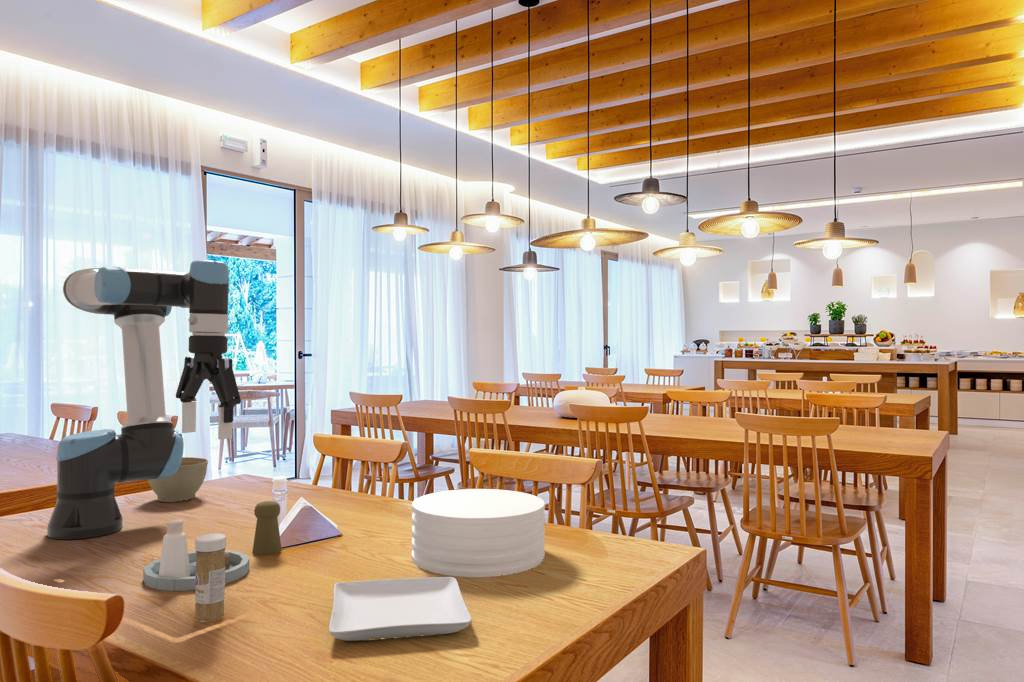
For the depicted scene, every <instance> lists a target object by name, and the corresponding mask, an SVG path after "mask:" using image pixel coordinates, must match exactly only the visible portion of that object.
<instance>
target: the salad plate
mask: <svg viewBox="0 0 1024 682" xmlns="http://www.w3.org/2000/svg"><path fill="white" fill-rule="evenodd" d="M332 601H333V602H332V609H331V615H330V620H329V623H328V632H329V633H330V635H331V636H333V638H335V639H337V640H341V641H346V642H355V641H357V642H358V641H359V640H366V641H370V640H369V639H380V640H382V639H381V638H394V637H406V638H408V637H407V636H418V637H422V636H421V635H429V636H435V635H434V634H440V635H446V634H452V633H453V634H454V633H457V632H460V631H461V630H464V629H466V628H467V627H468V626H469V625H470V624H471V623H472V620H473V619H472V617H471V614H470V612H469V609H468V606H467V605H466V603H465V602H466V601H465V599H464V598H463V595H462V592H461V589H460V587H459V583H458V580H457V579H456V578H455V576H454V577H453V576H438V577H437V576H435V577H433V576H432V577H410V578H409V577H407V578H405V577H404V578H388V579H387V578H385V579H372V580H371V579H369V580H360V581H359V580H357V581H342V582H336V583H334V585H333V599H332ZM394 639H395V638H394ZM359 642H360V641H359Z"/></svg>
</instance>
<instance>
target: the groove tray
mask: <svg viewBox="0 0 1024 682" xmlns="http://www.w3.org/2000/svg"><path fill="white" fill-rule="evenodd" d="M225 552H228V553H230V569H228V570H225V585H226V584H230V583H232V582H235V581H238V580H240V579H241V578H243V577H244V576H246V575H247V574H248V572H249V570H250V557H249V556H248V555H247V553H243V552H240V551H236V550H229V549H225ZM188 557H189V567H190V576H191V577H168V576H161V575H159V569H160V561H161V558H159V559H156V560H153V561H151V562H150V563H148V564H147V565H146V566H144V568H143V582H144V583H143V584H144V585H145V586H146V587H149V588H150V589H153V590H157V591H167V592H168V591H169V592H183V591H195V587H196V550H194V551H188Z"/></svg>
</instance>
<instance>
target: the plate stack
mask: <svg viewBox="0 0 1024 682" xmlns="http://www.w3.org/2000/svg"><path fill="white" fill-rule="evenodd" d="M545 509H546V503H545V500H544V499H542V498H541V497H539V496H537V495H534V494H530V493H526V492H523V491H517V490H508V489H499V488H497V489H495V488H463V489H451V490H450V489H449V490H443V491H442V490H441V491H436V492H431V493H428V494H424V495H421V496H419V497H417V498H415V499H414V500H413V501H412V503H411V511H412V515H411V524H412V527H411V537H412V538H411V548H412V550H411V561H412V562H414V563H415V564H416V565H415V564H414V563H413V564H414V565H415V566H417V567H418V568H421V569H422V570H425V571H427V570H428V571H427V572H430V571H431V572H432V573H434V574H438V573H439V574H440V575H444V576H449V577H453V576H454V577H459V578H460V577H463V578H464V577H465V578H490V577H491V576H493V577H502V576H501V575H503V576H508V574H509V575H514V574H513V573H515V574H518V572H519V573H523V572H526V571H529V570H531V568H532V569H534V568H536V567H537V565H538V564H539V565H541V564H542V563H543V562H544V560H545V558H544V557H546V555H545V552H546V551H545V543H546V541H545V539H546V538H545V537H544V536H545V533H546V532H545V531H546V527H545V525H544V524H545V522H546V520H545V519H546V514H545V513H544V512H545ZM543 559H544V560H543ZM542 561H543V562H542ZM541 562H542V563H541ZM540 563H541V564H540ZM539 565H538V566H539ZM535 566H536V567H535ZM533 567H534V568H533ZM528 569H529V570H528ZM525 570H526V571H525ZM522 571H523V572H522Z"/></svg>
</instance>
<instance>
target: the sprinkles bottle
mask: <svg viewBox="0 0 1024 682" xmlns="http://www.w3.org/2000/svg"><path fill="white" fill-rule="evenodd" d="M194 541H195V542H194V551H196V587H195V590H194V592H195V594H194V601H195V606H194V607H195V608H194V611H195V613H194V618H193V620H194V621H195V622H198V623H211V622H217V621H218V620H221V619H223V618H224V617H225V615H226V614H225V612H224V611H225V596H226V594H225V590H226V584H225V550H226V547H227V536H226V535H225V534H223V533H218V532H217V533H213V532H212V533H205V534H201V535H199V536H197V537H196V538H195V539H194Z"/></svg>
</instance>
